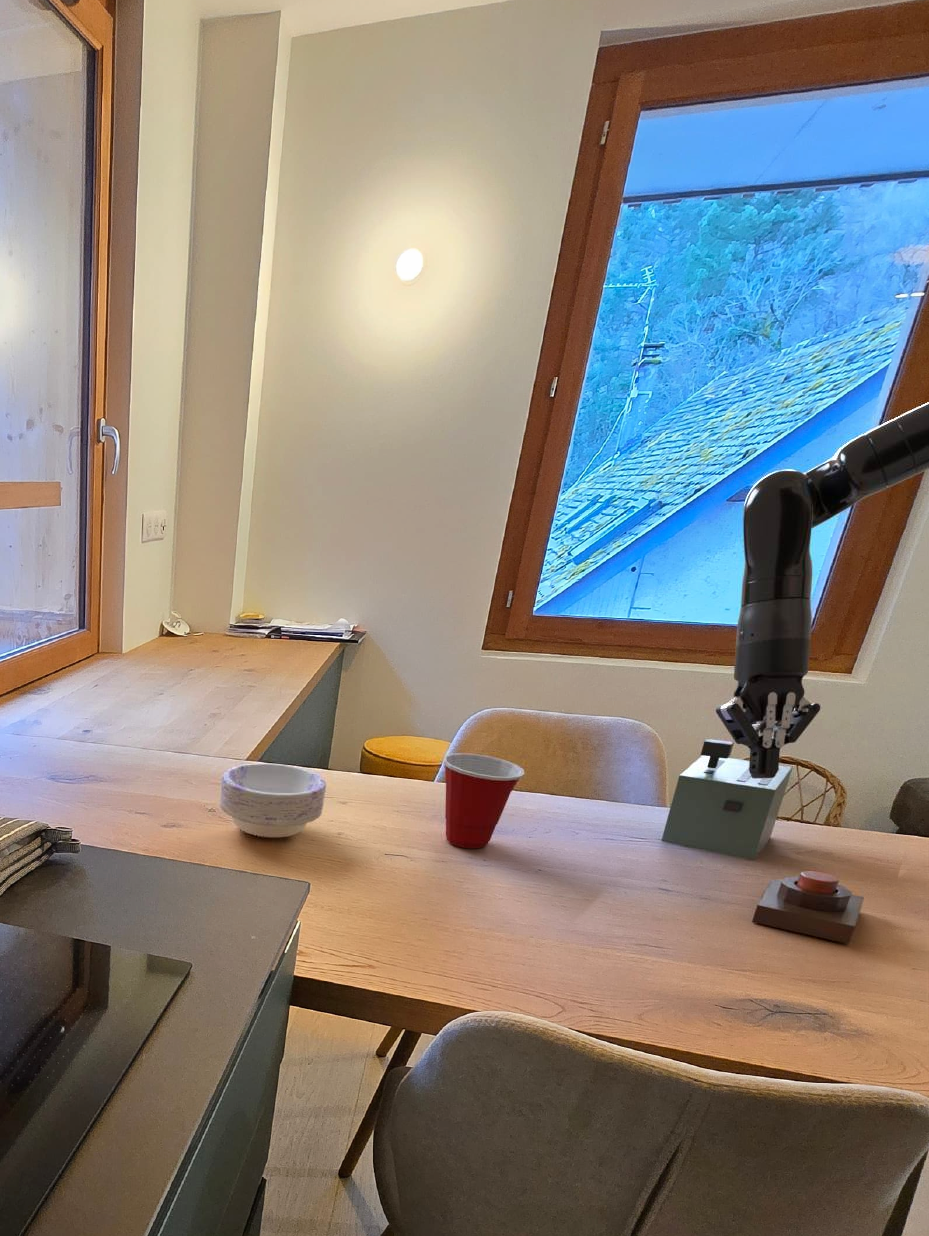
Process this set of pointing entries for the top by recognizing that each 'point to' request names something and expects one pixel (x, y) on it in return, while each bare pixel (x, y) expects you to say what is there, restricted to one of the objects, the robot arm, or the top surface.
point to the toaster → (725, 808)
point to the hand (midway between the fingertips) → (763, 778)
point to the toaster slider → (716, 751)
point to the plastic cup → (476, 796)
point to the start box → (809, 910)
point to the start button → (818, 882)
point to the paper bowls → (271, 798)
